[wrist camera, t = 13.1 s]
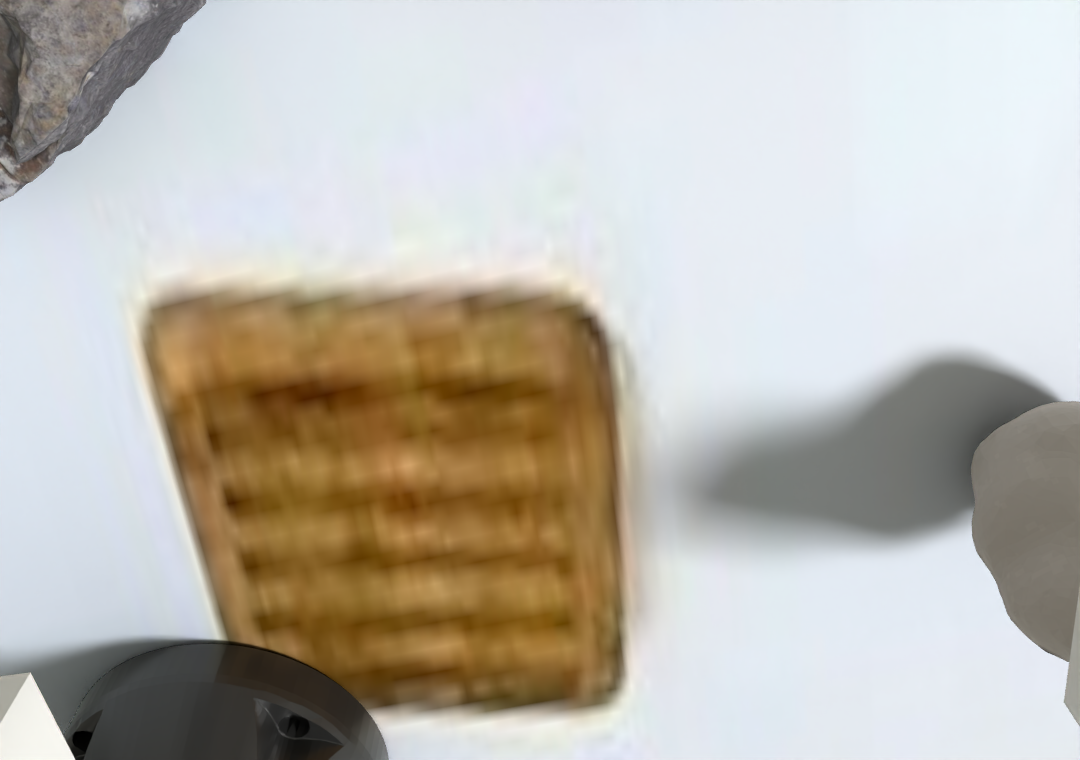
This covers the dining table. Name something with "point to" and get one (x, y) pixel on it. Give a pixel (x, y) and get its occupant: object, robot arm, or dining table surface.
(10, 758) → the robot arm
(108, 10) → the rock
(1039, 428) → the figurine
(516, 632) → the dining table surface
